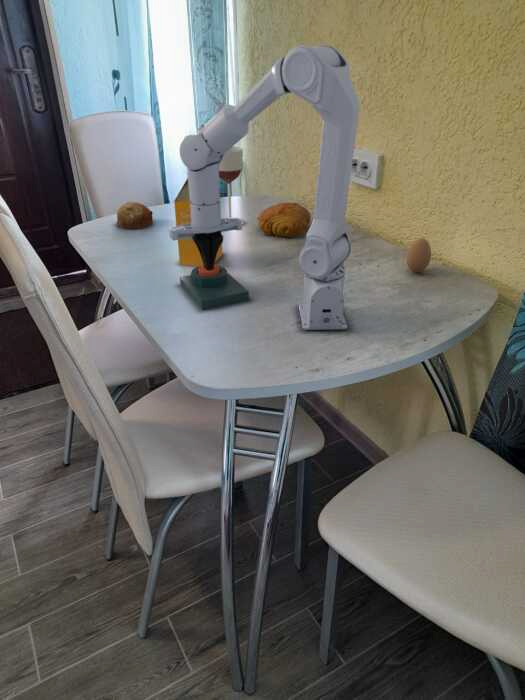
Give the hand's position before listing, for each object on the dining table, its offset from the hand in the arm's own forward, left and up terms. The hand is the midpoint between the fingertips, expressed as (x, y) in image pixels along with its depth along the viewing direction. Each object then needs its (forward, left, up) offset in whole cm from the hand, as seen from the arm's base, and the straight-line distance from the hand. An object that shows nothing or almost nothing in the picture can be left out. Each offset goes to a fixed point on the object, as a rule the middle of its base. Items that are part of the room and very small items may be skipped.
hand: (208, 268), depth 103 cm
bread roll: (+45, +24, -5) cm, 52 cm away
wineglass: (+45, -3, -5) cm, 46 cm away
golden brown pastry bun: (+39, -18, -5) cm, 43 cm away
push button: (0, 0, -2) cm, 2 cm away
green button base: (-2, -1, -5) cm, 5 cm away
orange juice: (+17, +3, -5) cm, 18 cm away
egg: (+8, -46, -5) cm, 47 cm away
